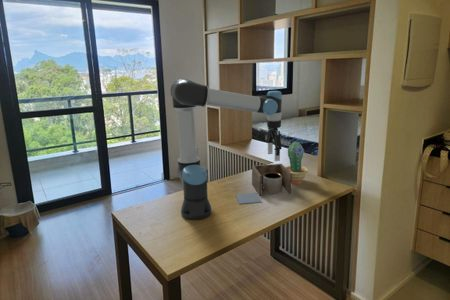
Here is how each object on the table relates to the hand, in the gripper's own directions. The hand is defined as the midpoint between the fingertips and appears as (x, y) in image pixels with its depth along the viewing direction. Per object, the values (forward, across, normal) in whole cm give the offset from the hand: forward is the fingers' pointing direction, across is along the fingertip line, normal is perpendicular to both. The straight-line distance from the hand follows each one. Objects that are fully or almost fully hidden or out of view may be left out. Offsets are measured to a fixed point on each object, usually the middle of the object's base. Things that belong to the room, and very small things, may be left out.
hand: (273, 157), depth 177 cm
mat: (+20, -8, +16) cm, 27 cm away
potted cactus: (+21, +12, -18) cm, 30 cm away
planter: (+21, 0, 0) cm, 21 cm away
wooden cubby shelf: (+20, +4, 0) cm, 21 cm away
